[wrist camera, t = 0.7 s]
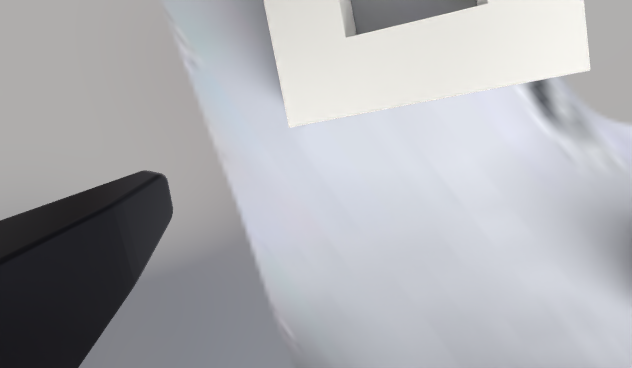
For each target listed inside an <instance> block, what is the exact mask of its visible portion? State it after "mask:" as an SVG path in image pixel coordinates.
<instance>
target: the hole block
mask: <svg viewBox="0 0 632 368" xmlns="http://www.w3.org/2000/svg"><path fill="white" fill-rule="evenodd" d="M263 1H264V6H265V11H266V16H267V21H268V25H269V30H270V35H271V40H272V45H273V50H274V55H275V60H276V65H277V70H278V75H279V80H280V85H281V90H282V95H283V100H284V105H285V110H286V115H287V120H288V125H289V128H290V127H295V126H300V125H306V124H311V123H316V122H321V121H327V120H332V119H337V118H342V117H348V116H353V115H358V114H363V113H369V112H374V111H379V110H384V109H390V108H395V107H400V106H405V105H411V104H416V103H421V102H426V101H432V100H437V99H442V98H447V97H453V96H458V95H463V94H468V93H474V92H479V91H484V90H489V89H495V88H500V87H505V86H510V85H516V84H521V83H526V82H531V81H537V80H542V79H547V78H552V77H558V76H563V75H568V74H573V73H579V72H584V71H589V70H590V62H589V51H588V40H587V30H586V19H585V9H584V0H476V1H477V6H475V7H471V8H467V9H463V10H459V11H455V12H451V13H446V14H442V15H438V16H434V17H430V18H426V19H421V20H417V21H413V22H409V23H405V24H401V25H397V26H392V27H388V28H384V29H380V30H376V31H372V32H368V33H363V34H359V35H357V34H356V28H355V22H354V16H353V11H352V5H351V0H263Z"/></svg>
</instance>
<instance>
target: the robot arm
mask: <svg viewBox="0 0 632 368" xmlns="http://www.w3.org/2000/svg"><path fill="white" fill-rule="evenodd" d="M172 214H173V206H172V201H171V195H170V190H169V185H168V181H167V178H166V177H165V175H163V174H161V173H156V172H152V171H140V172H138V173H135V174H132V175H129V176H126V177H123V178H120V179H118V180H115V181H112V182H109V183H106V184H103V185H100V186H97V187H95V188H92V189H89V190H86V191H83V192H80V193H78V194H75V195H72V196H69V197H66V198H63V199H60V200H58V201H55V202H52V203H49V204H46V205H43V206H41V207H38V208H35V209H32V210H29V211H26V212H24V213H21V214H18V215H15V216H12V217H9V218H6V219H4V220H1V221H0V368H78V367H79V366H80V364H81V363H82V361H83V360H84V359H85V357H86V356H87V354H88V353H89V351H90V350H91V348H92V347H93V346H94V344H95V343H96V341H97V340H98V338H99V337H100V335H101V334H102V332H103V331H104V329H105V328H106V327H107V325H108V324H109V322H110V321H111V319H112V318H113V317H114V315H115V314H116V312H117V311H118V309H119V308H120V306H121V305H122V303H123V302H124V301H125V299H126V298H127V296H128V295H129V293H130V292H131V290H132V289H133V287H134V286H135V284H136V282H137V280H138V279H139V277H140V276H141V274H142V272H143V270H144V268H145V266H146V265H147V263H148V261H149V259H150V257H151V255H152V253H153V252H154V250H155V248H156V246H157V244H158V243H159V241H160V239H161V237H162V235H163V233H164V231H165V230H166V228H167V226H168V224H169V222H170V220H171V218H172Z"/></svg>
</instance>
